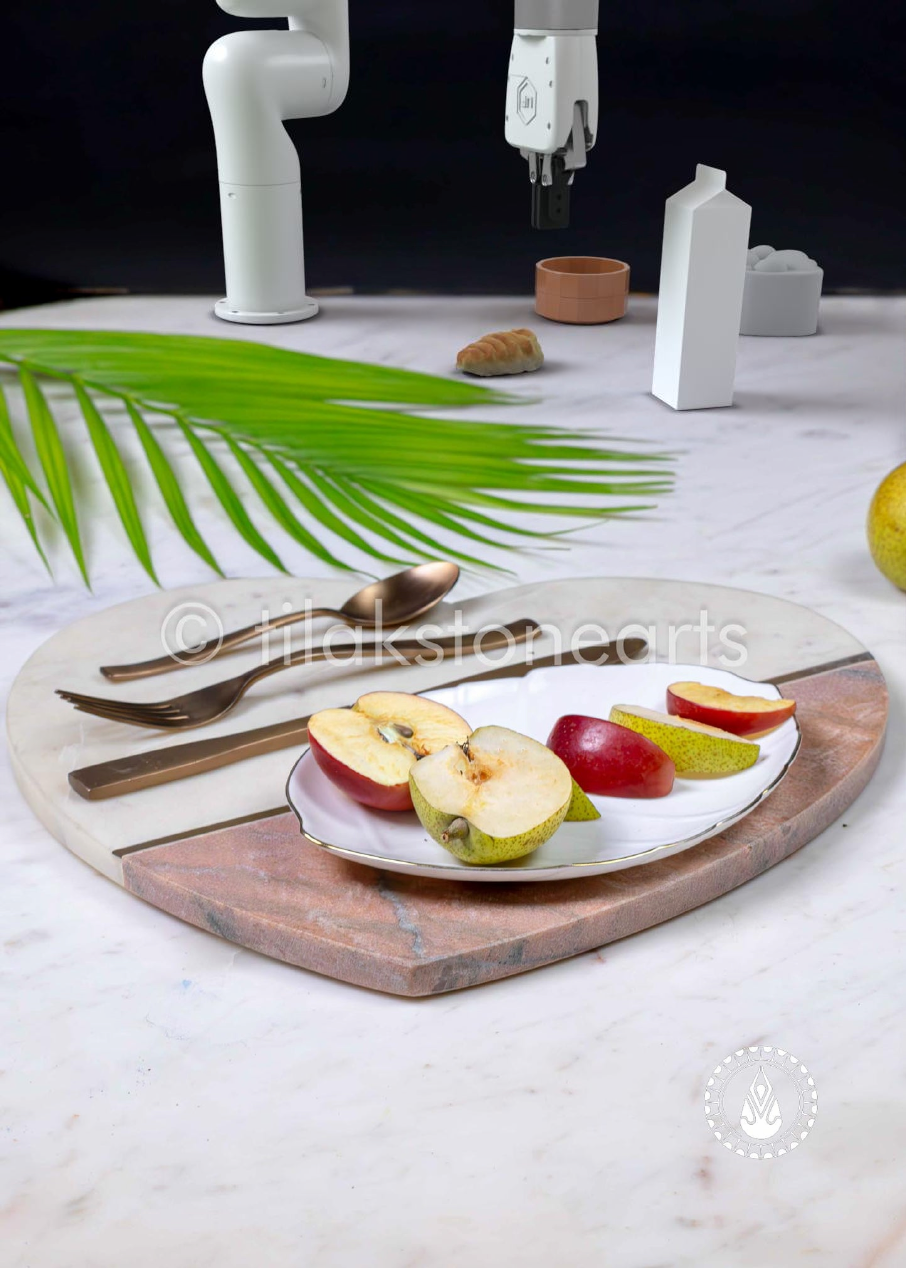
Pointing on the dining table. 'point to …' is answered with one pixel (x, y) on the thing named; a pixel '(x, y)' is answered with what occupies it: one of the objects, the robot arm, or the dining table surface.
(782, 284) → the lumpy-topped squat cylinder
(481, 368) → the pastry
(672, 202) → the milk
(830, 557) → the dining table surface
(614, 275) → the bowl
